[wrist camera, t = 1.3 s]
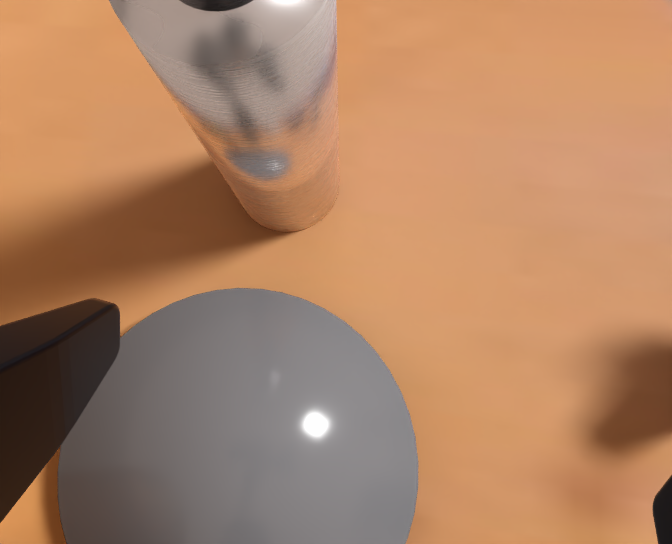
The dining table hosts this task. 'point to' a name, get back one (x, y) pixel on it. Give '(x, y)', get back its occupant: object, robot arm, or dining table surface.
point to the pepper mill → (253, 95)
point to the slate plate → (241, 432)
